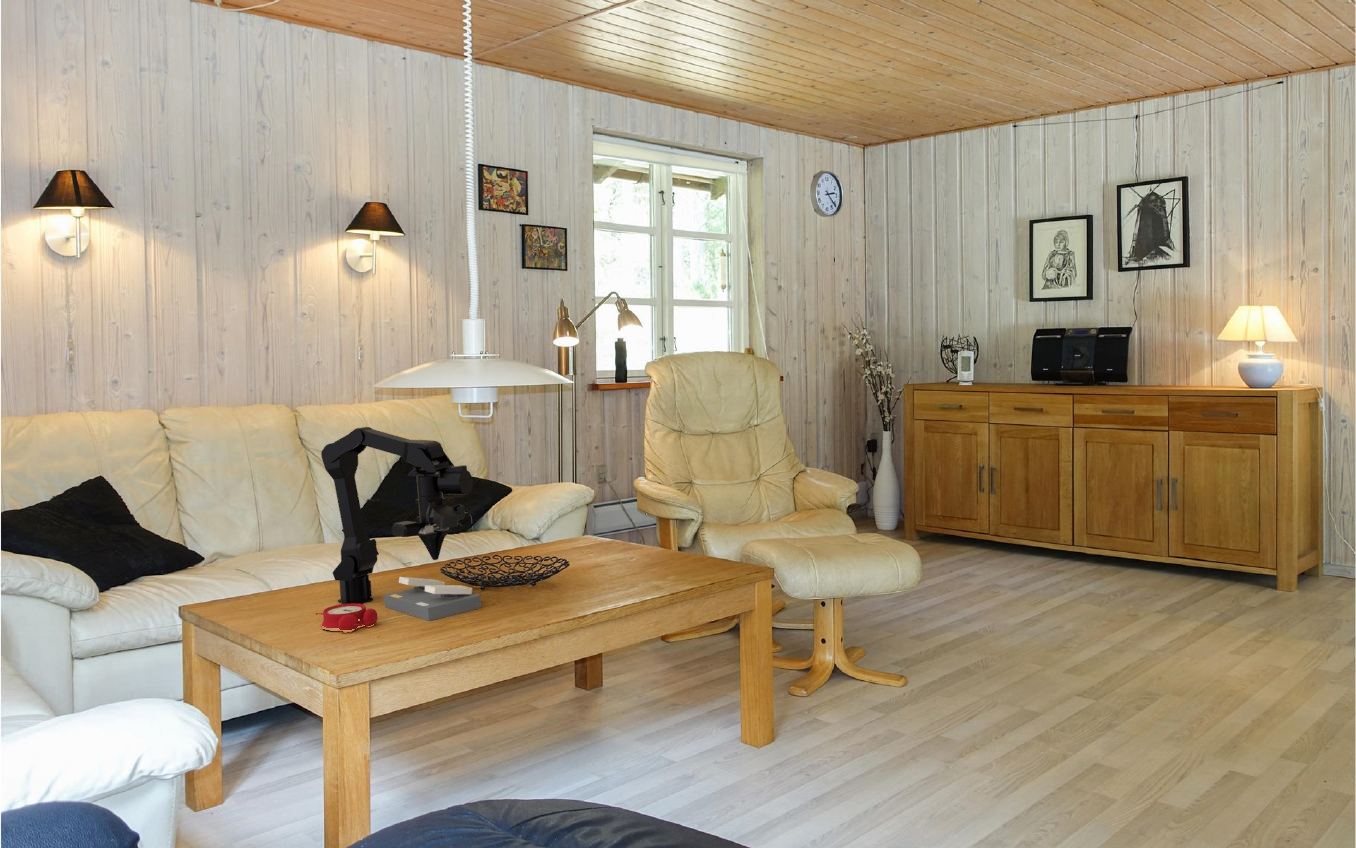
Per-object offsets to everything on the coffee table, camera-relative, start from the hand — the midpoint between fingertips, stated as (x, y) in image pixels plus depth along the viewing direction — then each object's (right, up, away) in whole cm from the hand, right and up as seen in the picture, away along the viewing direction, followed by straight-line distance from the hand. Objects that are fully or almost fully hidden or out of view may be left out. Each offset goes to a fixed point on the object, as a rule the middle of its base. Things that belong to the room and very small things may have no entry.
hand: (435, 559), depth 242 cm
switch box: (-1, -11, +1) cm, 11 cm away
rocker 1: (-5, -6, +5) cm, 9 cm away
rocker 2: (+4, -7, -3) cm, 8 cm away
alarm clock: (-16, -14, -13) cm, 25 cm away
